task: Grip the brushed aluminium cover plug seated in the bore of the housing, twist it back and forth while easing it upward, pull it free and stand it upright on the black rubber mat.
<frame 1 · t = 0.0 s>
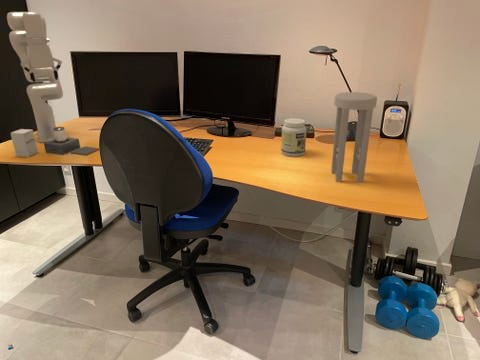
hand: (45, 80, 177), 37 cm above the table, tool pointing down, fingers open, 9 cm apart
supplement box: (27, 155, 193), on the table
stool: (346, 177, 162), on the table
supplement tub: (292, 153, 191), on the table
cover plug: (61, 139, 196), in the housing
mat: (85, 151, 196), on the table
housing: (63, 149, 199), on the table
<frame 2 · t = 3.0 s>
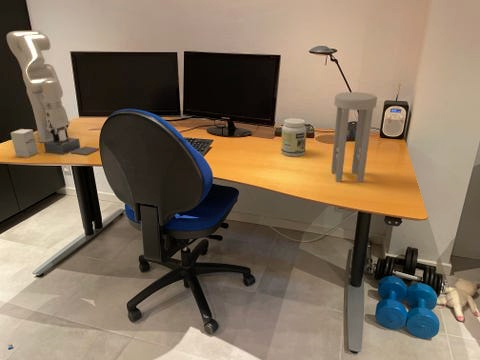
hand: (61, 139, 196), 6 cm above the table, tool pointing down, fingers closed on cover plug, 5 cm apart
cover plug: (61, 139, 196), in the housing, touching gripper
everything else where it was.
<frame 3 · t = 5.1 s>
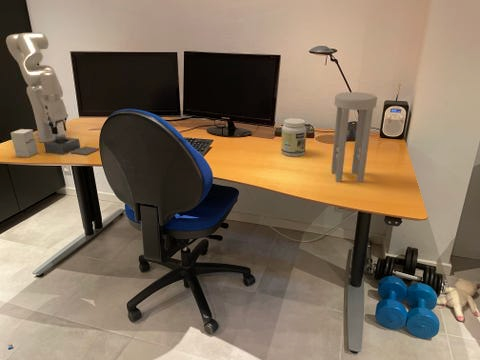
hand: (59, 132, 195), 10 cm above the table, tool pointing down, fingers closed on cover plug, 5 cm apart
cover plug: (59, 132, 195), point 10 cm above the table, touching gripper
everything else where it was.
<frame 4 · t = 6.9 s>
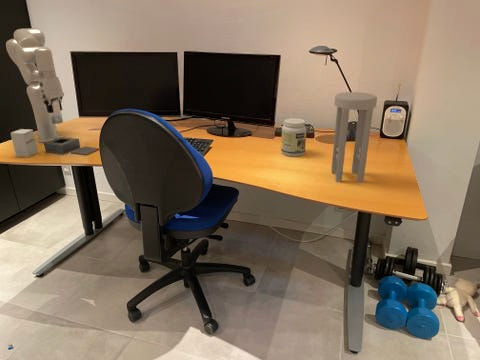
hand: (55, 111, 190), 21 cm above the table, tool pointing down, fingers closed on cover plug, 5 cm apart
cover plug: (55, 110, 190), point 21 cm above the table, touching gripper
everything else where it was.
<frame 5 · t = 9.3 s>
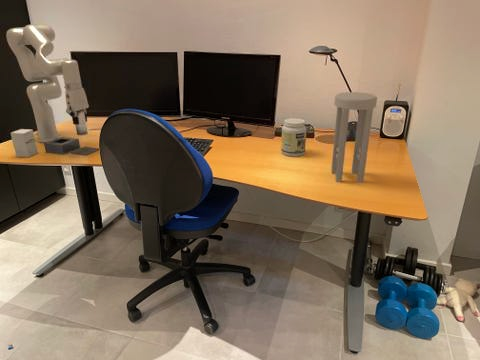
hand: (80, 122, 190), 16 cm above the table, tool pointing down, fingers closed on cover plug, 5 cm apart
cover plug: (80, 122, 190), point 16 cm above the table, touching gripper
everything else where it was.
when the fingers open (8 cm above the table, at t = 11.0 s): cover plug drops 1 cm, resting on mat.
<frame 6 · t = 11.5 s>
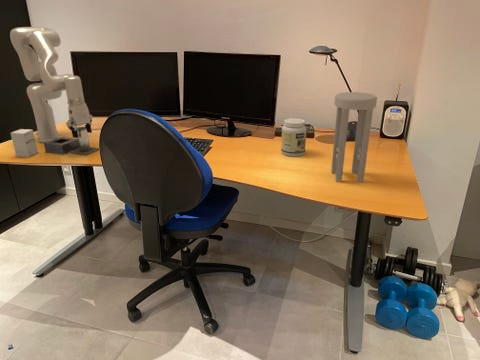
hand: (82, 135, 193), 9 cm above the table, tool pointing down, fingers open, 9 cm apart
cover plug: (83, 139, 194), on the mat, point 7 cm above the table
everything else where it was.
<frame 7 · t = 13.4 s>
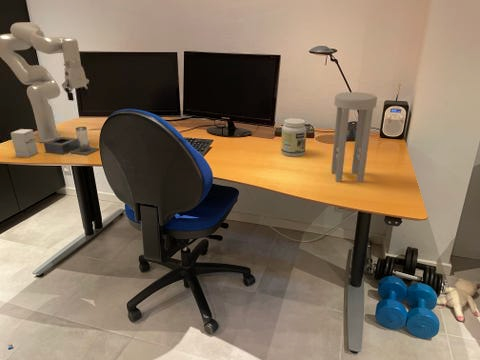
hand: (78, 98, 195), 26 cm above the table, tool pointing down, fingers open, 9 cm apart
nothing on the table moved.
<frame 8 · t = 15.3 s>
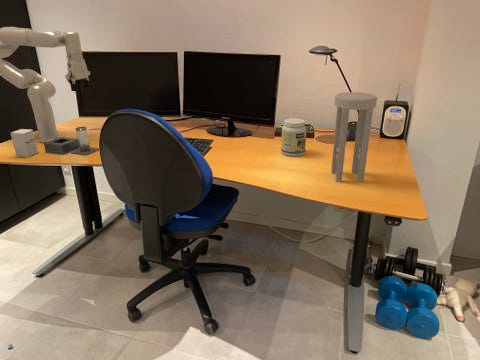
hand: (80, 89, 204), 28 cm above the table, tool pointing down, fingers open, 9 cm apart
nothing on the table moved.
at the end: cover plug inside the target area on the mat (0.1 cm from its centre), point 6.6 cm above the mat's base; cover plug tilted 1°; the gripper is holding nothing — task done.
